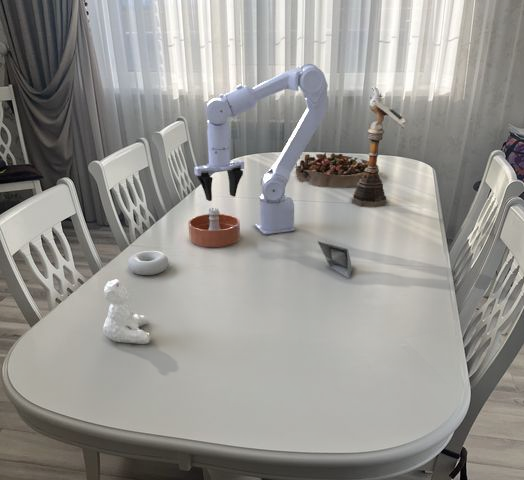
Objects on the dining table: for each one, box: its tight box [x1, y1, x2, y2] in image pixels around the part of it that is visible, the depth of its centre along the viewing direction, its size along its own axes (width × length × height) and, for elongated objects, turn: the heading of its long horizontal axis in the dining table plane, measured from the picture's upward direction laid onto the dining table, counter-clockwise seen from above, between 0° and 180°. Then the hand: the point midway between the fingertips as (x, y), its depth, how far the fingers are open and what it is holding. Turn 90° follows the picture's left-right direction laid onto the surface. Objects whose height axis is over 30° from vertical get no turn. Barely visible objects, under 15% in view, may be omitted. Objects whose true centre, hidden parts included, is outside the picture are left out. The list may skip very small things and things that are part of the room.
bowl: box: [187, 213, 241, 248], centre depth 152 cm, size 14×14×5 cm
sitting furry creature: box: [102, 278, 151, 345], centre depth 105 cm, size 10×9×12 cm
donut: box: [127, 250, 170, 276], centre depth 135 cm, size 10×4×10 cm
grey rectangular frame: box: [317, 241, 353, 279], centre depth 134 cm, size 12×6×9 cm
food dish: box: [294, 152, 380, 188], centre depth 209 cm, size 35×33×8 cm
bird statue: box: [351, 86, 407, 208], centre depth 173 cm, size 17×13×35 cm
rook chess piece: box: [207, 207, 221, 230], centre depth 151 cm, size 4×4×8 cm
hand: (221, 197), depth 154 cm, fingers open, 7 cm apart
